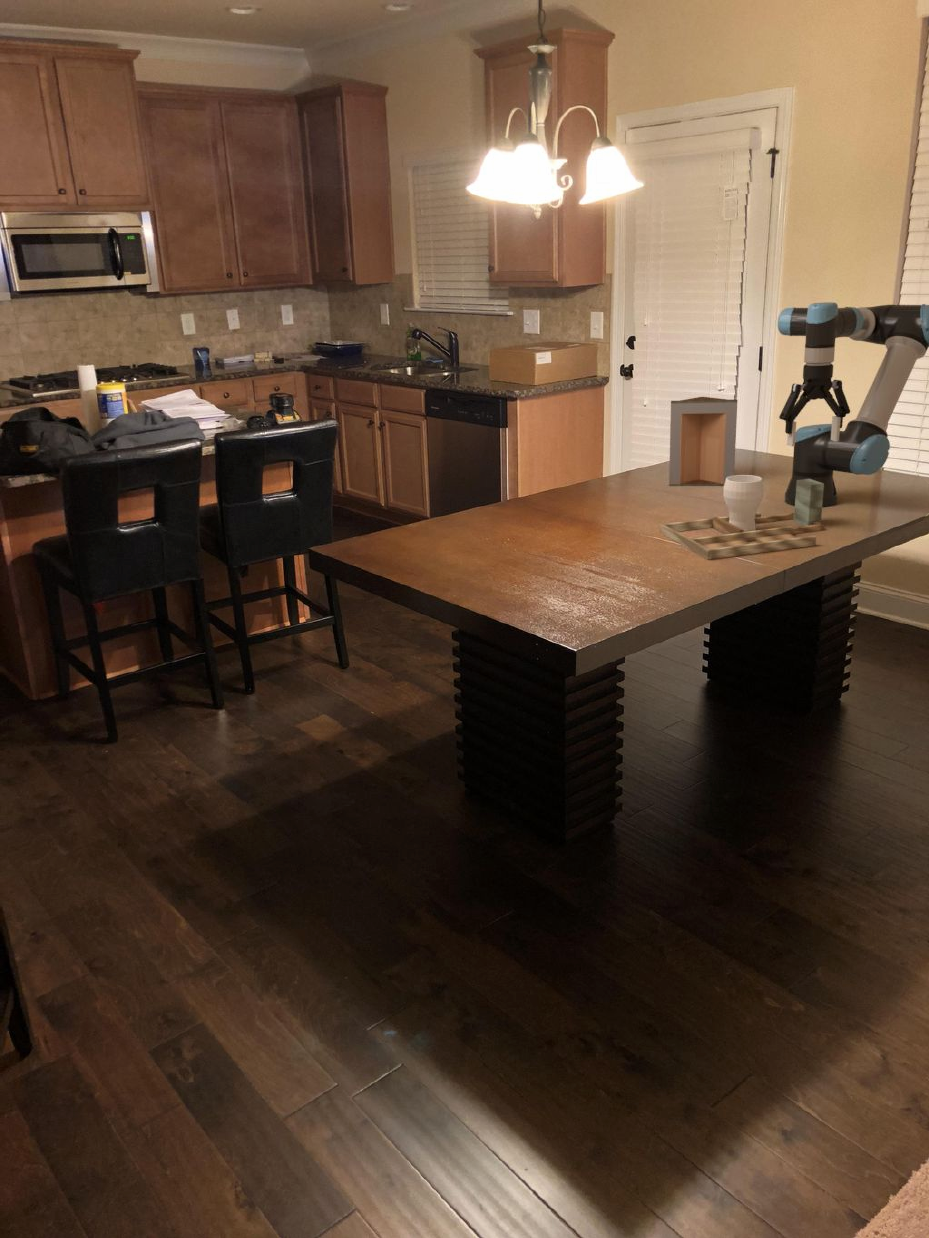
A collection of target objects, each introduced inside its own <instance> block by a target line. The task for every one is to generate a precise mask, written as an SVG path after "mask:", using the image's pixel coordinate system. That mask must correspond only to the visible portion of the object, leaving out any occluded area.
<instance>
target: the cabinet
mask: <svg viewBox="0 0 929 1238" xmlns="http://www.w3.org/2000/svg"><path fill="white" fill-rule="evenodd" d="M737 419H738V399H737V398H735V399H728V398H727V399H726V398H717V397H709V396H708V397H707V396H698V397H692V398H687V399H681V400H670V428H669V429H670V430H669V432H670V433H669V434H670V436H669V473H668V481H669V482H668V486H669V487H724V484H725V481H726V478H727V477H729V476H735V463H736V440H737V439H736V438H737Z"/></svg>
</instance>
